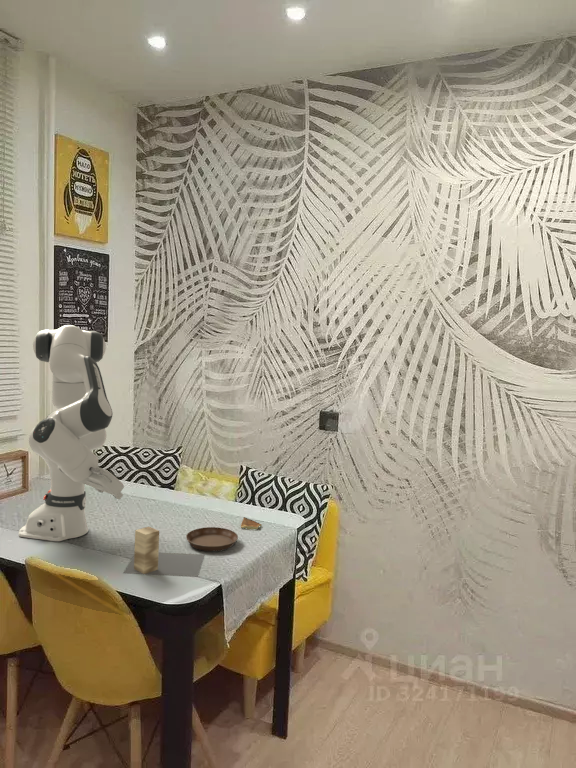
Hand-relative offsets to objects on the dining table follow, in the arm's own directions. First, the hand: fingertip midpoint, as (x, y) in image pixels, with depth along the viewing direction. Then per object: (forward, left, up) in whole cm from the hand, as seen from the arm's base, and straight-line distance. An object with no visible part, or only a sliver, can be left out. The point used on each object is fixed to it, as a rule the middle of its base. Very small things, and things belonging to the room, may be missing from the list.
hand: (111, 493), depth 172 cm
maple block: (+10, +6, -24) cm, 27 cm away
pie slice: (+37, +52, -26) cm, 69 cm away
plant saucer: (+27, +32, -26) cm, 49 cm away
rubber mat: (+15, +11, -25) cm, 31 cm away
